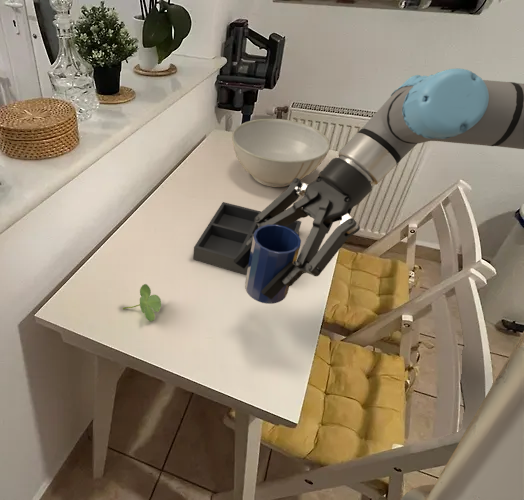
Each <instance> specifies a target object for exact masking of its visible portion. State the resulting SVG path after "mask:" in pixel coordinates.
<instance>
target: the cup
mask: <svg viewBox="0 0 524 500" xmlns="http://www.w3.org/2000/svg"><path fill="white" fill-rule="evenodd" d="M301 244H302V239H301V237H300V235H299V233H298V234H297V233H296V232H295V231H293V230H292V229H290V228H288V227H285V226H281V225H276V224H272V225H264V226H261V227H259V228H258V229H257V230H256V231H255V233H254V236H253V241H252V247H251V252H250V258H249V264H248V270H247V275H245V281H244V288H245V292H246V294H248V296H249V297H250V298H251V299H253V300H255V301H257V302H259V303H262V304H269V305H273V304H277V303H280V302H282V301H283V300H285V299H286V297H287V296H288V293H289V290H290V286H289V287H288V286H286V285H285V286H284V287H283V288H282V289H281V290H280V291H279V292H278V293H277V294H276V295H275V296H274V297H273V298H272V299H270V298H268V297H266V296H265V295H263V294H262V293H261V291H262V290H263V289H264V288H265V287H266V286H267V285H268V284H269V282H270V281H271V280H272V279H273V278H274V277H275V276H276V275H277V274H278V273H279V272H280V271H281V270H282V269H283V268H284V267H285V266H286V265H287V264H288V263H289V262H292V263H293V261H297V259H298V256H299V253H300V248H301Z"/></svg>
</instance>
